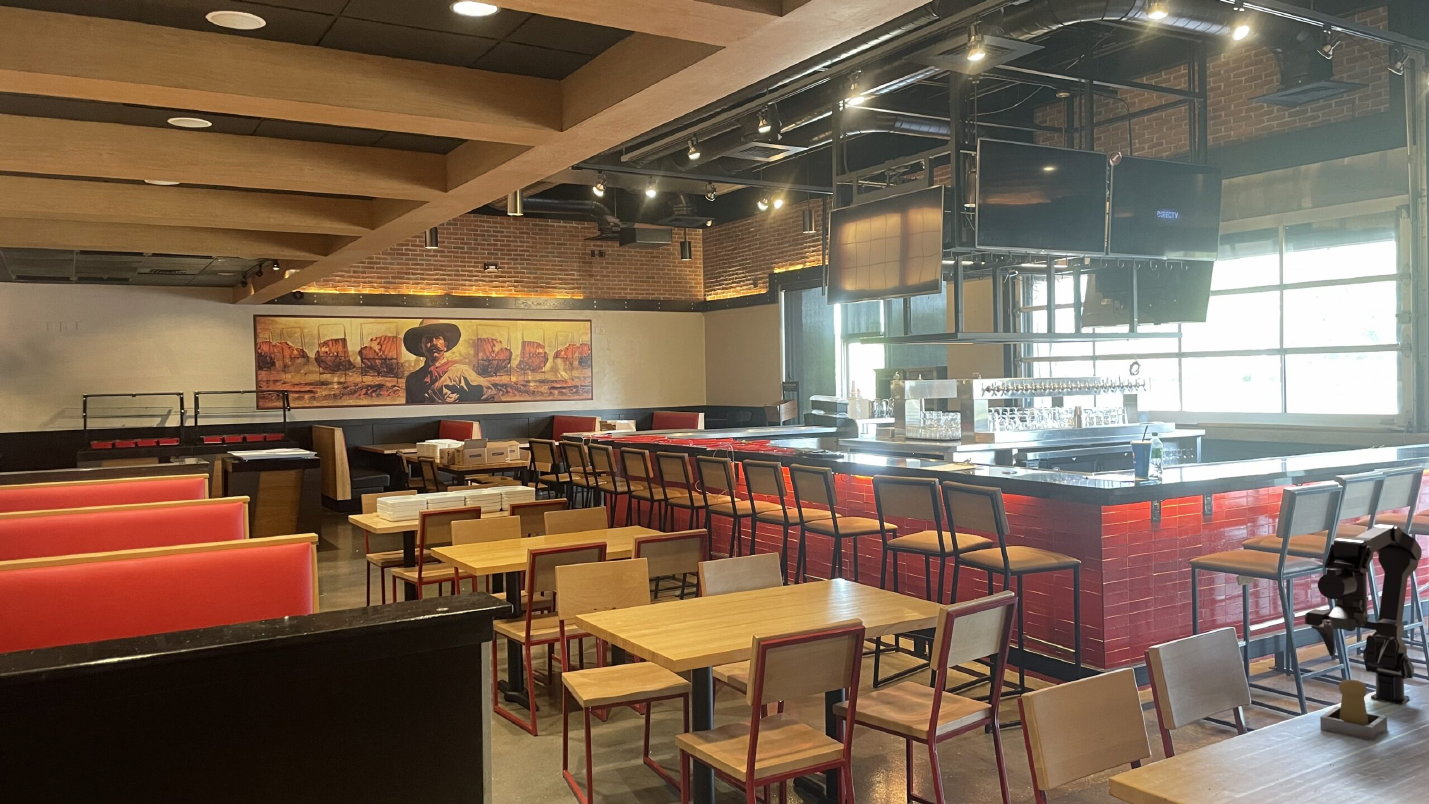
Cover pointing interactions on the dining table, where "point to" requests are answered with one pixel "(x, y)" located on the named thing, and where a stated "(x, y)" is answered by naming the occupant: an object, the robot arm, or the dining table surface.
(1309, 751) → the dining table surface
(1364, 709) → the cork
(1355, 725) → the socket frame
